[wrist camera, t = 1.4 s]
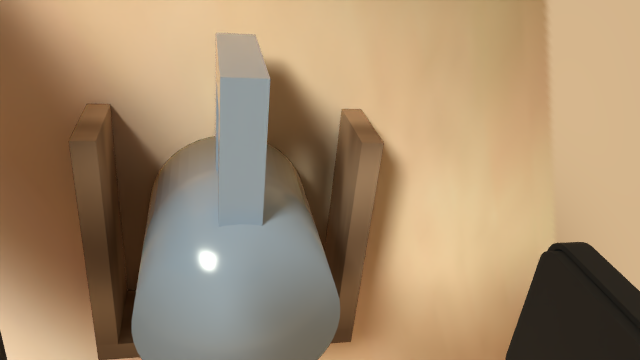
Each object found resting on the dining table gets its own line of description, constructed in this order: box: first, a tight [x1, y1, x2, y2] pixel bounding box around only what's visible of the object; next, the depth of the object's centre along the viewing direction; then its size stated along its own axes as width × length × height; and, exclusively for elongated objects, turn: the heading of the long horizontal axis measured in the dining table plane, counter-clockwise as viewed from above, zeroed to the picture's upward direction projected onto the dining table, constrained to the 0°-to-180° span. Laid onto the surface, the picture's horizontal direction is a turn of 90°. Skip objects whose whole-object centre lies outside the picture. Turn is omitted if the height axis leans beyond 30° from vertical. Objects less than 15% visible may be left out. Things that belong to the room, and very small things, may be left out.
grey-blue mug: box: [132, 33, 340, 360], centre depth 24 cm, size 14×8×9 cm, turn 175°
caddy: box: [69, 104, 384, 360], centre depth 27 cm, size 12×13×4 cm
